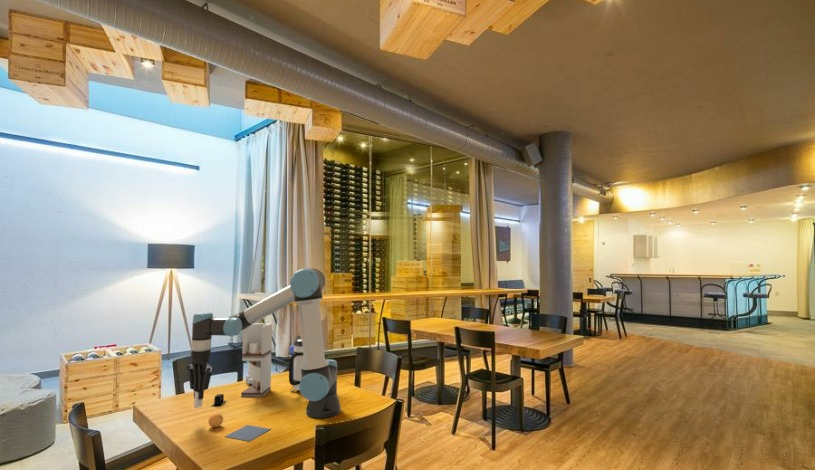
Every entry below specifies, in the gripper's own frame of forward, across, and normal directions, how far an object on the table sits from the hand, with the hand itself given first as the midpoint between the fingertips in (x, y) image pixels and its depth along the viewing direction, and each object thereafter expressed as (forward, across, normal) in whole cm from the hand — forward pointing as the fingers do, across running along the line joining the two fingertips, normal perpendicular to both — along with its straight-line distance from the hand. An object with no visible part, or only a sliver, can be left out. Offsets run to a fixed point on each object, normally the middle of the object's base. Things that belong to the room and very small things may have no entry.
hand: (198, 406), depth 168 cm
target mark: (+7, -27, 0) cm, 28 cm away
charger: (+7, +21, -56) cm, 60 cm away
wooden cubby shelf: (+7, +6, -41) cm, 42 cm away
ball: (+4, -10, 0) cm, 11 cm away
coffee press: (+7, -15, -53) cm, 56 cm away
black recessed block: (+8, +12, -22) cm, 26 cm away
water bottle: (+7, +2, -70) cm, 71 cm away
